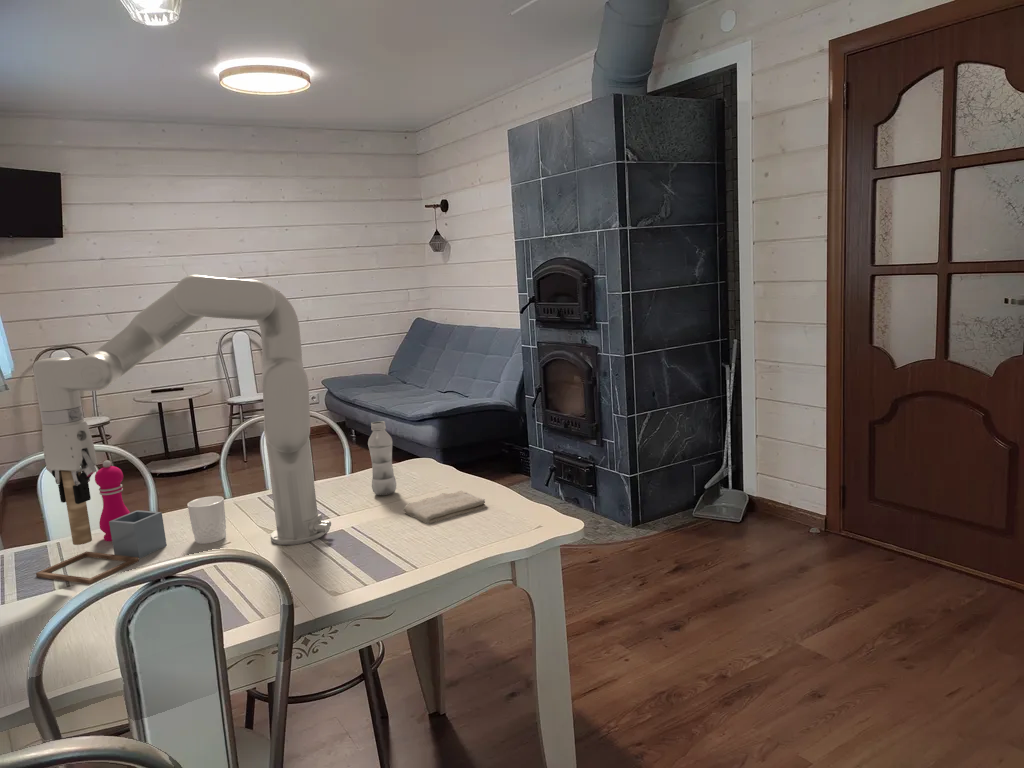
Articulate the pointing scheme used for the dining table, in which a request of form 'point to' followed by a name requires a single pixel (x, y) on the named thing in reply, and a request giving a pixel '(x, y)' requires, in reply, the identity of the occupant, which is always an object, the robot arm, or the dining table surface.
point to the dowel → (76, 512)
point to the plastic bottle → (381, 460)
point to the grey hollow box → (138, 533)
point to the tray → (47, 574)
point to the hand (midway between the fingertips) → (75, 500)
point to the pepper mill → (110, 496)
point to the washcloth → (444, 506)
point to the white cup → (207, 519)
